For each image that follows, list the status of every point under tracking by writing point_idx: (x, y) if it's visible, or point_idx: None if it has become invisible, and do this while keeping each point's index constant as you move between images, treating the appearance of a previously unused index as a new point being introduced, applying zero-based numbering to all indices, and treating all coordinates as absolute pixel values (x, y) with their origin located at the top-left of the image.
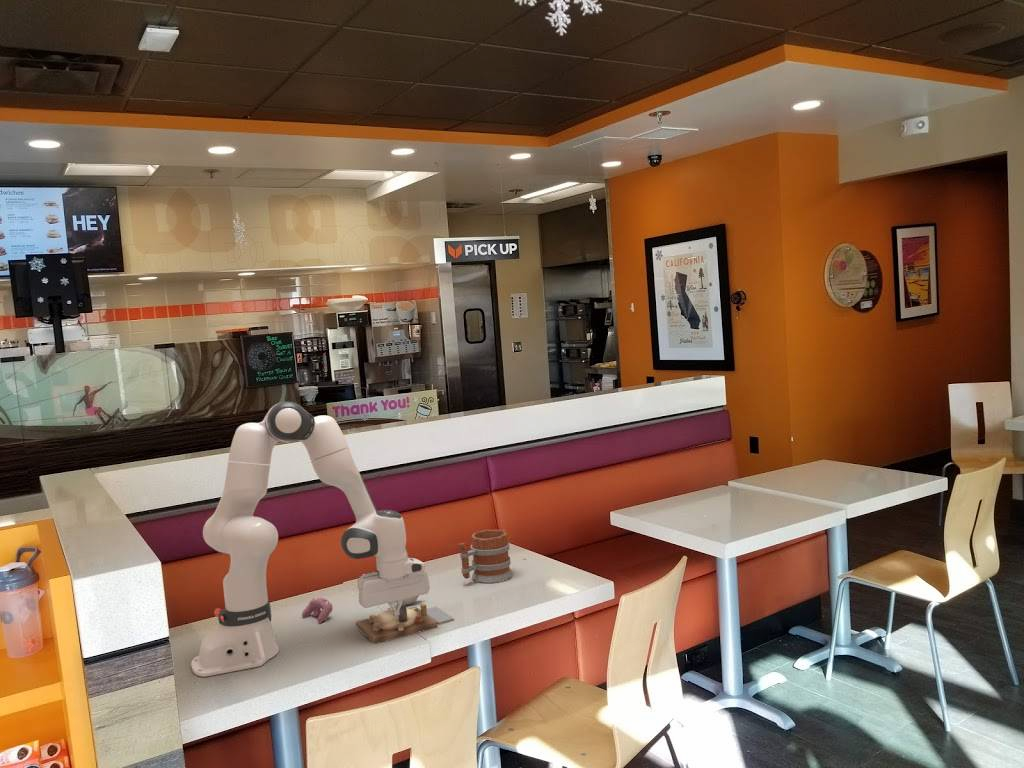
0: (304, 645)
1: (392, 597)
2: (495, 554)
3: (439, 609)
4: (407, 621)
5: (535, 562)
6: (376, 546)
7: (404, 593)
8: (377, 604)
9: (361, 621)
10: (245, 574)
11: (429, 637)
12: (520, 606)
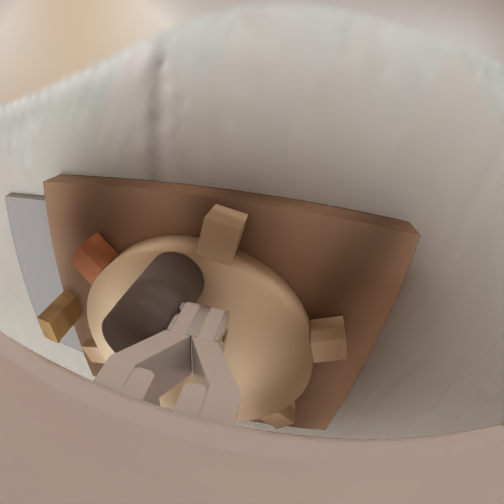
0: (498, 383)
1: (193, 471)
2: None
3: (35, 308)
4: (157, 250)
5: None
6: None
7: (24, 411)
8: (421, 444)
9: (308, 423)
10: None
11: (131, 69)
12: None
